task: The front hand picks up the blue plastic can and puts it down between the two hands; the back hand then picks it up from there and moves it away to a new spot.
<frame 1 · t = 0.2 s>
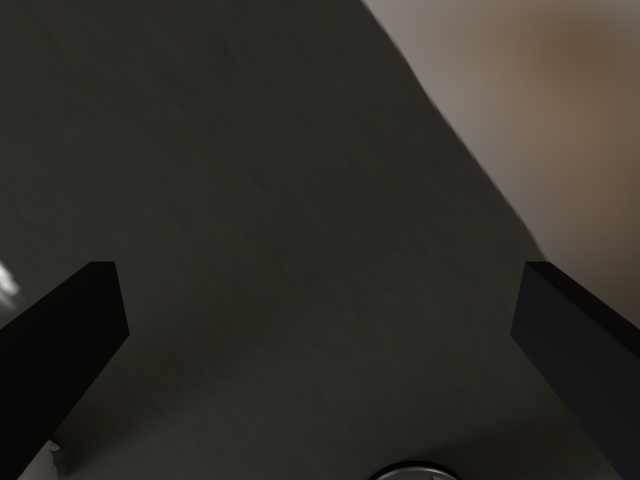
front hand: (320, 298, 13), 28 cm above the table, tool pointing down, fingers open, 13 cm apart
toy: (31, 426, 51), on the table
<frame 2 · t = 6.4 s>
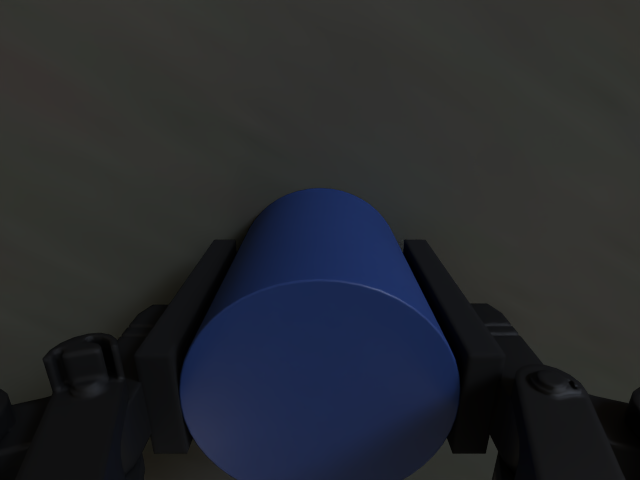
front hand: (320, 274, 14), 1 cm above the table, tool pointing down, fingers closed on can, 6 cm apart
can: (319, 264, 15), on the table, touching front hand
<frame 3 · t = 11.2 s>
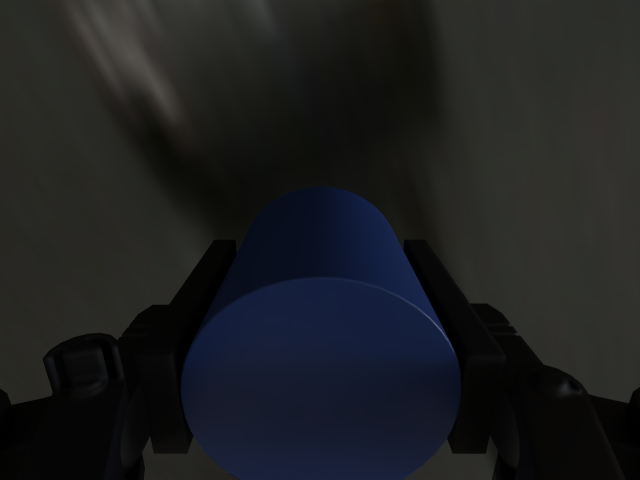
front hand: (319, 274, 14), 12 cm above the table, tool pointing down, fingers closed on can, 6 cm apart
can: (320, 262, 15), point 11 cm above the table, touching front hand
when the front hand's fingers open (3 cm above the table, at t = 16.4 s): can drops 2 cm, on the table.
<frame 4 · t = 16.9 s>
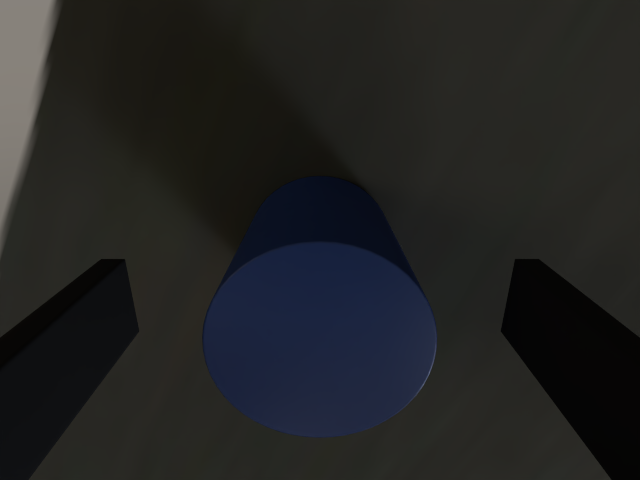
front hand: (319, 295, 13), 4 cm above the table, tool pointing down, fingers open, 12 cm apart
can: (319, 245, 17), on the table
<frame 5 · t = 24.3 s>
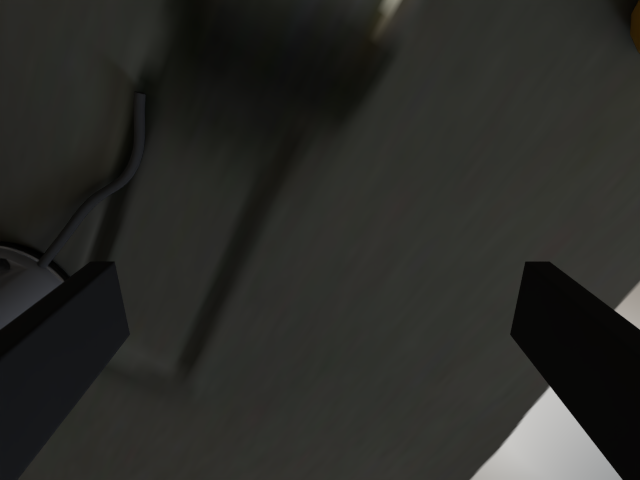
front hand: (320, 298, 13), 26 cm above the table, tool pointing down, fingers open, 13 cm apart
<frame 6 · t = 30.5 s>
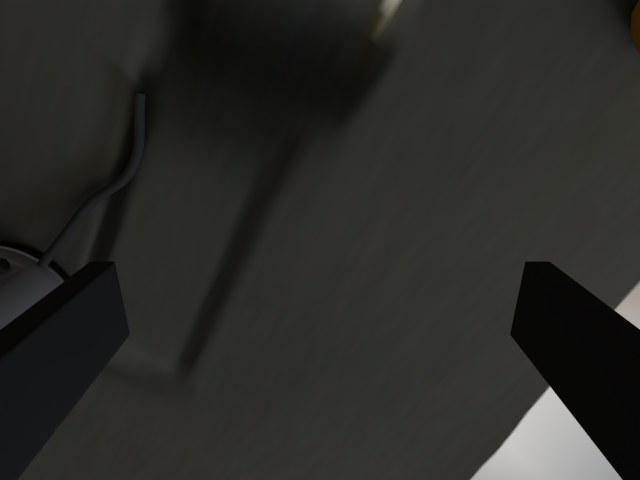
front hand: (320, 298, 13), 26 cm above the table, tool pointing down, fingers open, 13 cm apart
when the back hand's fingers open (3 cm above the table, at t = 36.7 s): can drops 2 cm, on the table.
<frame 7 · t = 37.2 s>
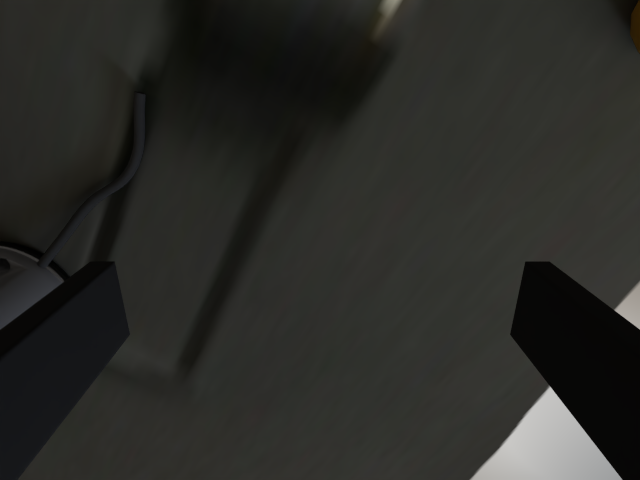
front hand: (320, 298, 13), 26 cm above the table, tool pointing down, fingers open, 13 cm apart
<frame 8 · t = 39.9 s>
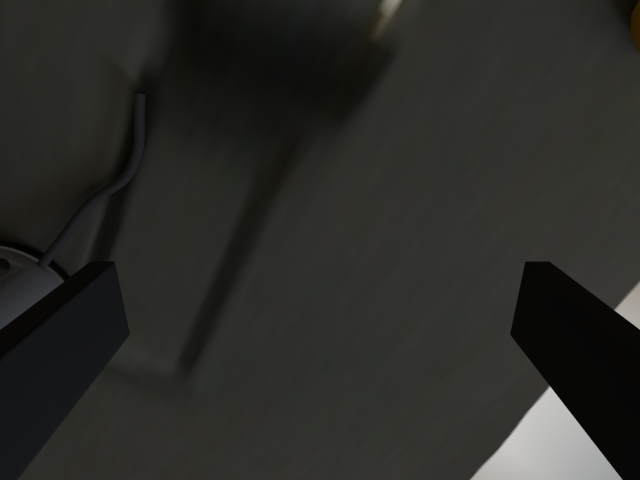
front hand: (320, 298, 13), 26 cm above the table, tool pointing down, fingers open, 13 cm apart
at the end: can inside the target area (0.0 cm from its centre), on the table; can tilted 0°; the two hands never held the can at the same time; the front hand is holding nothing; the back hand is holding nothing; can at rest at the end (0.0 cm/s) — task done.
